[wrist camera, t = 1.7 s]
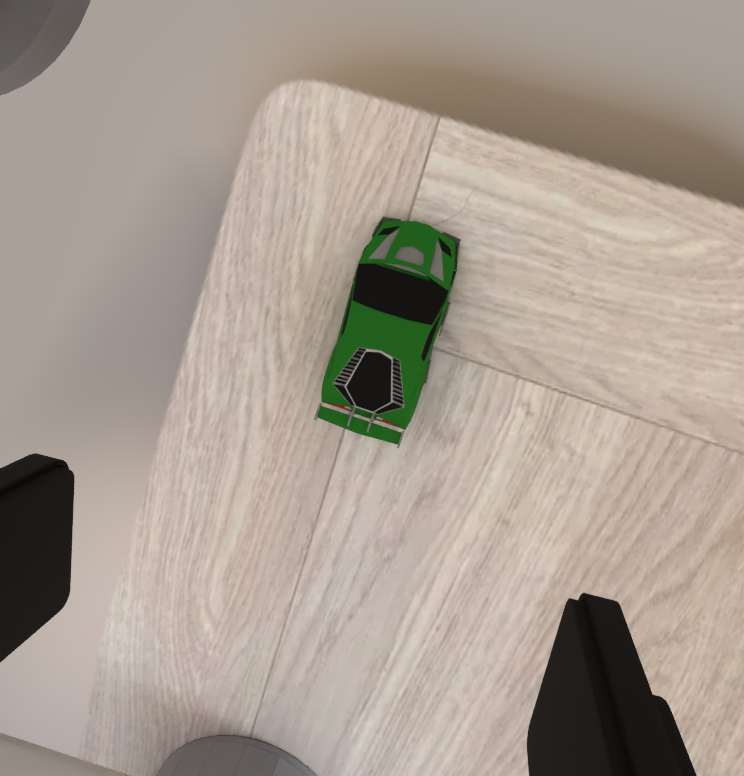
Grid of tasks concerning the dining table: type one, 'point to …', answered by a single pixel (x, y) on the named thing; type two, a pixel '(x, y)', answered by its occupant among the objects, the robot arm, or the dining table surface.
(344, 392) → the toy car
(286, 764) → the measuring cup
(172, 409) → the dining table surface
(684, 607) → the dining table surface
